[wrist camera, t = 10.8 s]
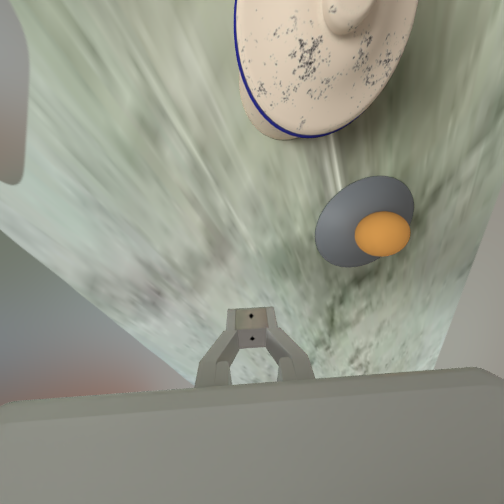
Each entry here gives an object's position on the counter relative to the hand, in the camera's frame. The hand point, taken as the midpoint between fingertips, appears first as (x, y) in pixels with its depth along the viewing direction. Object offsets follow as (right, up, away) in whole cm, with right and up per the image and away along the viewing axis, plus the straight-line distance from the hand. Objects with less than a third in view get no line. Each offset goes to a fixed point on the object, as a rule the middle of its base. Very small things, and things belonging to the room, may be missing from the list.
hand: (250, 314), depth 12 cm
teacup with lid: (+3, +21, +4) cm, 22 cm away
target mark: (+15, +8, +12) cm, 21 cm away
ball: (+16, +6, +10) cm, 20 cm away
